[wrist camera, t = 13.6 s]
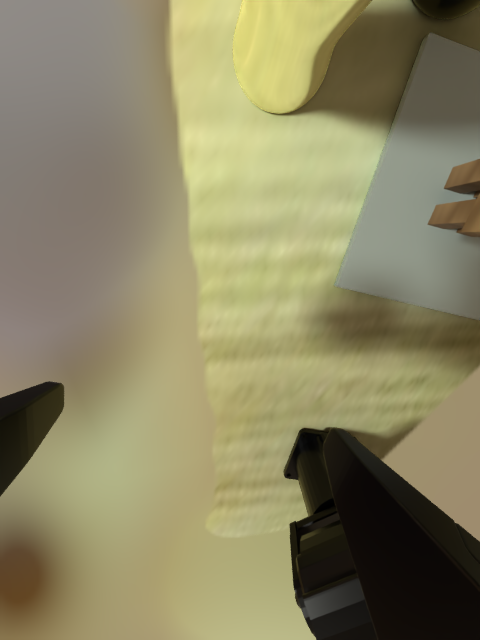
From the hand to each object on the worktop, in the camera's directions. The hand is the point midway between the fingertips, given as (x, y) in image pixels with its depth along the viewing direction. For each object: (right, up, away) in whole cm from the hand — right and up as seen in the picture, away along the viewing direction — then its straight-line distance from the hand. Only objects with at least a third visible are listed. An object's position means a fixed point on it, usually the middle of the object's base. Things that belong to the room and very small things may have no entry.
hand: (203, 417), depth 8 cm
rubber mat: (+18, +12, +10) cm, 24 cm away
